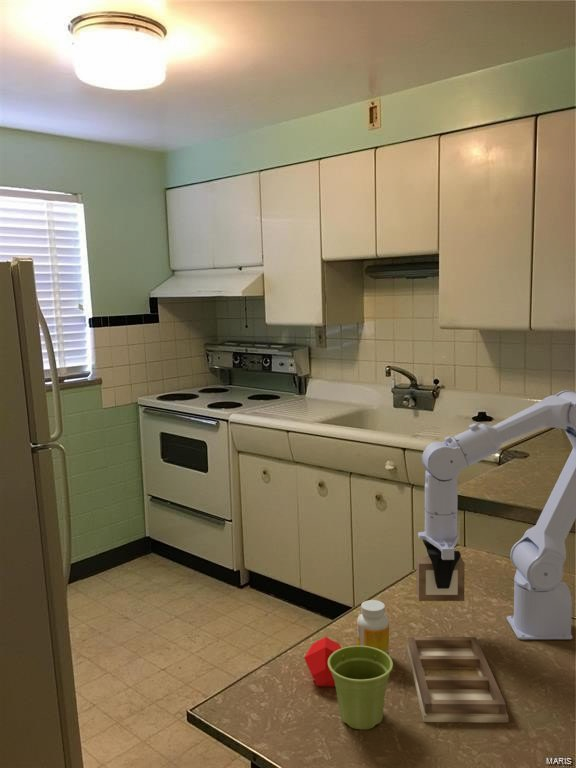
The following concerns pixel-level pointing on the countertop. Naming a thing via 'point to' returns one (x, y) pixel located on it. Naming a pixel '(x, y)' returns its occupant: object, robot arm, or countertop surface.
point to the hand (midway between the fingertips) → (440, 582)
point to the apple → (321, 661)
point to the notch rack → (454, 681)
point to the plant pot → (360, 684)
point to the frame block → (427, 583)
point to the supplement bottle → (373, 626)
